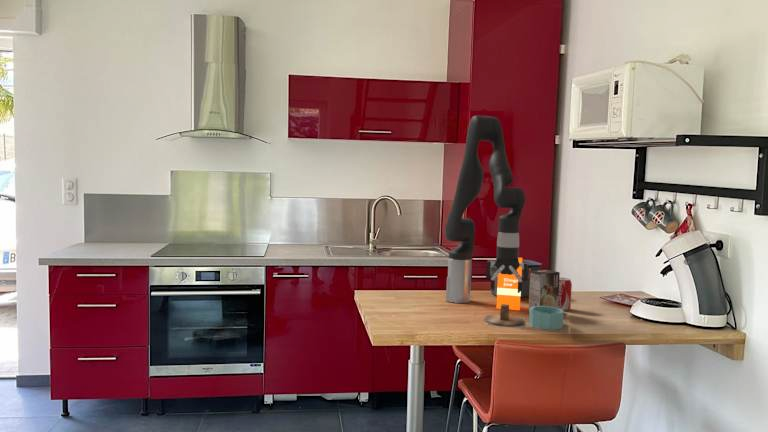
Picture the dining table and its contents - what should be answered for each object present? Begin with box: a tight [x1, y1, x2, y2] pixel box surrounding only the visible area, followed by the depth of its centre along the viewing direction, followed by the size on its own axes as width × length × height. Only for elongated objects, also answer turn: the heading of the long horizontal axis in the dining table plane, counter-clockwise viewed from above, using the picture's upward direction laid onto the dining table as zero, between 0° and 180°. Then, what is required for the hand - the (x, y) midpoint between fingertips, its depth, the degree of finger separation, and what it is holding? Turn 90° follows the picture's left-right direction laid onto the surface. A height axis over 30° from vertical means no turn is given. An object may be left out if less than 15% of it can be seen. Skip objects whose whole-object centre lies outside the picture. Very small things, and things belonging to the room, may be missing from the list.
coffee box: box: [528, 269, 561, 312], centre depth 237 cm, size 9×6×16 cm
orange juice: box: [495, 257, 523, 311], centre depth 244 cm, size 8×9×20 cm
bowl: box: [528, 306, 565, 331], centre depth 219 cm, size 11×11×6 cm
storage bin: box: [489, 259, 543, 298], centre depth 268 cm, size 21×16×14 cm
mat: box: [483, 314, 526, 329], centre depth 223 cm, size 14×14×1 cm
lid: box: [486, 304, 523, 327], centre depth 222 cm, size 13×13×6 cm
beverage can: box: [558, 277, 573, 312], centre depth 245 cm, size 6×6×12 cm
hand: (506, 291), depth 222 cm, fingers open, 8 cm apart
